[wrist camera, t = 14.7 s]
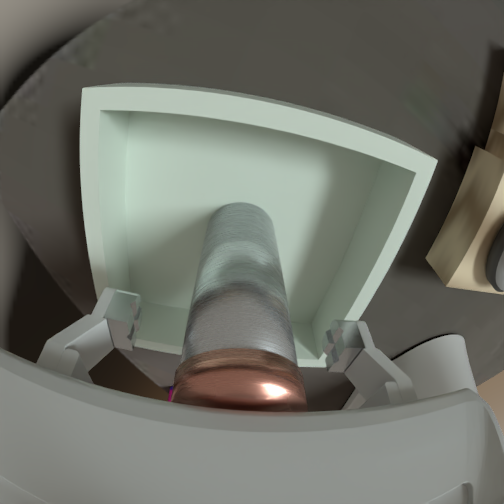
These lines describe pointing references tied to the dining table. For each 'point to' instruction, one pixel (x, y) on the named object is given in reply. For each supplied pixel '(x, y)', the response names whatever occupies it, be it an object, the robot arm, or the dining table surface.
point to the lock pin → (240, 321)
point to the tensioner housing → (476, 220)
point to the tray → (240, 200)
